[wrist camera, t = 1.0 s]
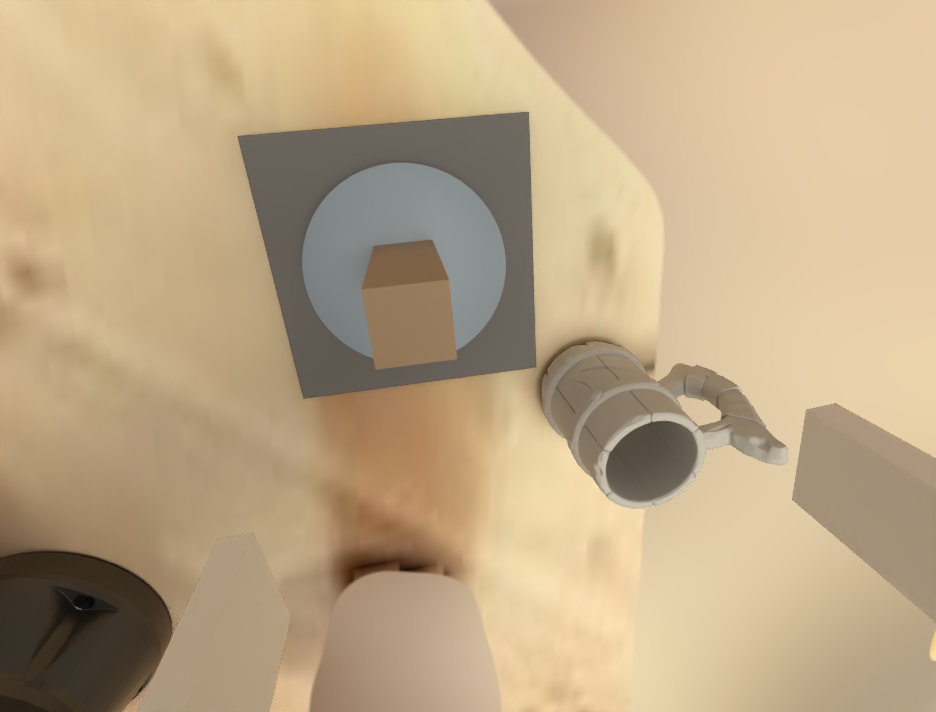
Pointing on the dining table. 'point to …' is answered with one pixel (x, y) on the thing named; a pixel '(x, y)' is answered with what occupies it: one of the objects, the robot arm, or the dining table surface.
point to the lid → (404, 264)
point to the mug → (645, 422)
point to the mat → (361, 147)
